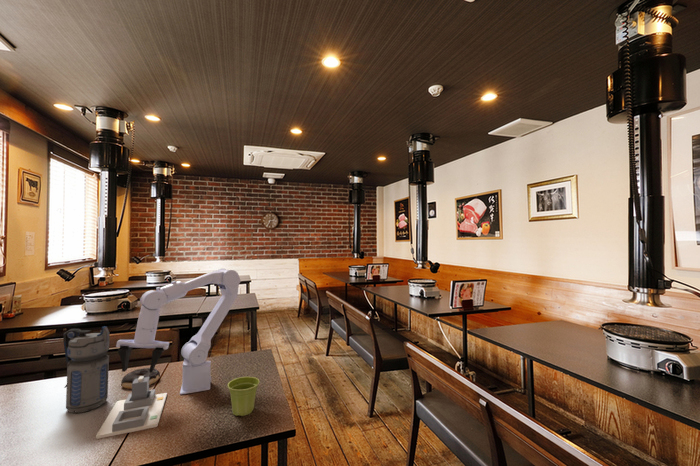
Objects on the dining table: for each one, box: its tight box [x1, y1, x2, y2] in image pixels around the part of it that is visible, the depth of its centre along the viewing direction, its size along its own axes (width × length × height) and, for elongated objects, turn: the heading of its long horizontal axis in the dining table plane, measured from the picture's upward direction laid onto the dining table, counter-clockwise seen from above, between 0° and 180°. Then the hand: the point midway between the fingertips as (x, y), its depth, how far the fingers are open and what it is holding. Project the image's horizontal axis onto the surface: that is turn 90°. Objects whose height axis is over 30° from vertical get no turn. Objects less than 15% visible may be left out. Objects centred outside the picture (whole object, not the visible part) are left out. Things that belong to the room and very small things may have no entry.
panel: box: [95, 388, 168, 440], centre depth 94 cm, size 14×20×3 cm
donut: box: [120, 367, 161, 390], centre depth 116 cm, size 11×12×4 cm
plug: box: [131, 376, 150, 401], centre depth 100 cm, size 4×4×8 cm
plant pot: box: [227, 376, 260, 417], centre depth 96 cm, size 9×9×9 cm
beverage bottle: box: [62, 325, 111, 414], centre depth 99 cm, size 10×13×25 cm
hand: (138, 371), depth 100 cm, fingers open, 7 cm apart
